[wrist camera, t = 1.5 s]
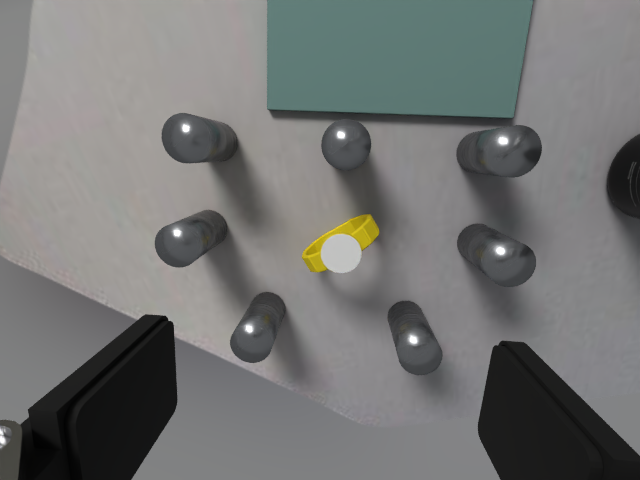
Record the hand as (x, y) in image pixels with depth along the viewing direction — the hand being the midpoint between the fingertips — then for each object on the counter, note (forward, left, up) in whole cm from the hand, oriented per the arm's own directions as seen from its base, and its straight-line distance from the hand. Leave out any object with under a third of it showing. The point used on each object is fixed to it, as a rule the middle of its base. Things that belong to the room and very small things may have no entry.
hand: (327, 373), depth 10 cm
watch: (0, 0, -19) cm, 19 cm away
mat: (-3, -14, -19) cm, 24 cm away
